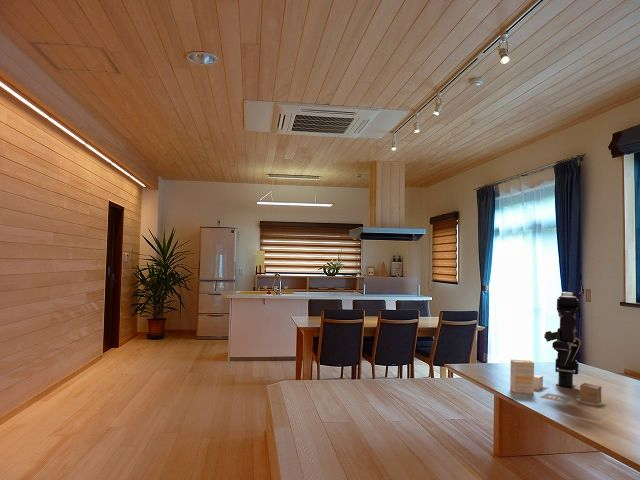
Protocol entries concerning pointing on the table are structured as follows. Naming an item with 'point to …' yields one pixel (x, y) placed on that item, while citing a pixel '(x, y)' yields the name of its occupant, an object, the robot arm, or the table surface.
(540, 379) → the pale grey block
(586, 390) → the walnut block
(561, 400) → the tile
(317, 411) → the table surface
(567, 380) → the robot arm
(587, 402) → the pale green disc
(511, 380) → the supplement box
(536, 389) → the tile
